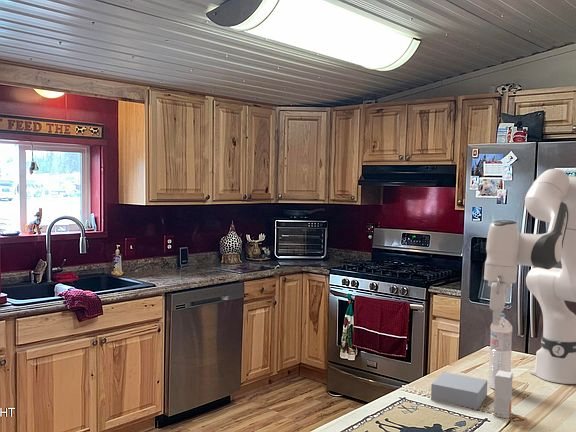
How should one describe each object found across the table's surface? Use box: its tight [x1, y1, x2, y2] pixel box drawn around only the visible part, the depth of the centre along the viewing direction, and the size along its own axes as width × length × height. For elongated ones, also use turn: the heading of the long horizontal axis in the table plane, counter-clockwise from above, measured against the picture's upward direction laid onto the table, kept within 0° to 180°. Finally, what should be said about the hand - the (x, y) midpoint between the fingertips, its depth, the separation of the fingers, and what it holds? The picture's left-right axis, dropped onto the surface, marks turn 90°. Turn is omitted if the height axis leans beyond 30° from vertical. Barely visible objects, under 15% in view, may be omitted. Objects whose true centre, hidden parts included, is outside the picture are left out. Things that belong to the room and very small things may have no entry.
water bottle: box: [488, 312, 513, 390], centre depth 182 cm, size 7×7×25 cm
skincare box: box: [493, 370, 514, 420], centre depth 159 cm, size 6×4×12 cm
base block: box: [430, 371, 488, 410], centre depth 172 cm, size 14×14×5 cm
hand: (496, 322), depth 159 cm, fingers open, 8 cm apart
